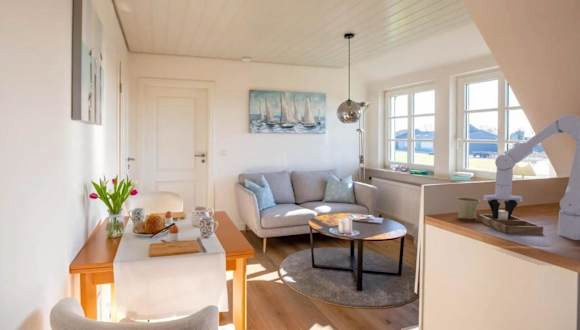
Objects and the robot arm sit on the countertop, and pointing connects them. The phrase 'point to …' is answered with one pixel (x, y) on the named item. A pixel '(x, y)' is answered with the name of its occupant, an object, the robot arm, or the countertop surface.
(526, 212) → the countertop surface
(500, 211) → the white rounded egg-shaped piece
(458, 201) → the flower pot
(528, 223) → the bin
